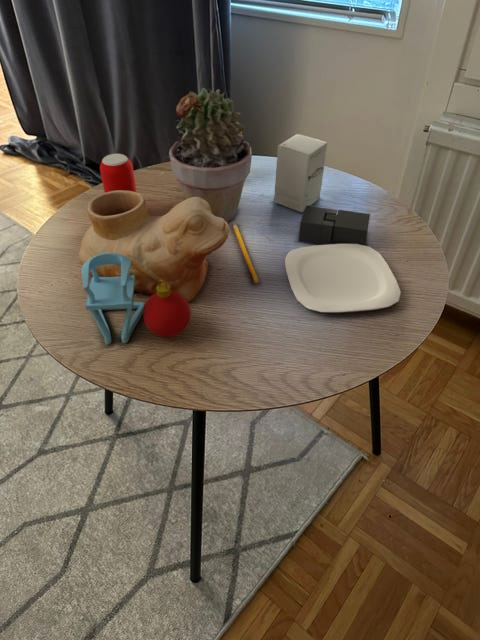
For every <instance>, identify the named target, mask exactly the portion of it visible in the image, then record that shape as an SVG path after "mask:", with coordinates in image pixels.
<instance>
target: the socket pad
mask: <svg viewBox="0 0 480 640" xmlns="http://www.w3.org/2000/svg"><path fill="white" fill-rule="evenodd" d="M337 213H338V209H333V208H326V207H321V206H320V207H319V206H313V205H310V206H306V207H305V210H304V211H303V212H302V216H301V219H300V224H299V225H300V226H299V233H298V242H299V243H304V244H311V245H315V246H316V245H329V244H331V243H332V240H331V238H332V232H333V226H334V222H331V221H325V219H326V215H327V214H334V215H337Z"/></svg>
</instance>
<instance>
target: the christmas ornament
mask: <svg viewBox="0 0 480 640" xmlns="http://www.w3.org/2000/svg"><path fill="white" fill-rule="evenodd" d="M159 281H162V282H163V283H161V284H159ZM159 281H158V285H157V287H156V290H157V292H156V293H154V294H153V295H150V296H149V297H148V298H147V299H146V301H145V302H144V303H145V305H144V309H143V314H142V318H143V319H142V320H143V322H144V324H145V326H146V328H147V329H148V330H149V332H151V333H152V334H154V335H156V336H158V337H161V338H173V337H177V336H178V335H180V334H182V333H183V332H184V331H185V330H186V329H187V327H188V325H189V324H190V321H191V315H192V312H191V306H190V304H189V302H187V300H186V299H185V298H184V297H183V296H182V295H181V294H179V293H177V292H175V291H171V290H170V285H169V284H167V283H166V282H165V281H163V280H159Z"/></svg>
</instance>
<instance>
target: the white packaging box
mask: <svg viewBox="0 0 480 640" xmlns="http://www.w3.org/2000/svg"><path fill="white" fill-rule="evenodd" d="M327 148H328V141H323V140H321V139H318V138H315V137H314V138H313V137H310V136H307V135H304V134H300V133H296V134H294V135H293V136H291V137H290V138H288V139H286V140H284V141H283V142H282V143H280V144H278V145H277V155H276V167H275V168H276V170H275V184H274V196H273V197H274V198H273V202H274V203H276V204H278V205H282V206H283V207H286V208H288V209H291V210H295V211H296V212H299V213H304V210H305V207H306V206H313V204H314V203H315V202H317V201H318V200H320V199H321V192H322V185H323V178H324V171H325V163H326V156H327Z"/></svg>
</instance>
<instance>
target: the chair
mask: <svg viewBox="0 0 480 640" xmlns="http://www.w3.org/2000/svg"><path fill="white" fill-rule="evenodd" d="M106 264H117V265H121V276H120V277H99V275H98V273H97V271H96V269H95V267H97V266H100V265H106ZM130 266H131V259H130V258H128V257H126V256H124V255H120V254H116V253H102V254H99V255H96V256H94V257H92V258H90V259H89V260H88V261H87V262H86V263H84V264H83V266H82V265H81V268H80V269H81V271H80V272H81V278H82V287H83V289H84V291H85V293H86V294H87V298H86V302H85V308H86V311H89V312H90V314H91V315H92V317H93V319H94V321H95V323H96V324H97V327H98V329H99V330H100V332H101V334H102V336H103V340H104V343H105V345H110V344H111V343H112V336H111V331H110V328H109V325H108V323H107V321H106V318H105V315H104V313H103V311H115V310H116V311H117V310H126V312H125V317H124V320H123V321H124V322H123V325H122V329H121V335H120V338H121V342H122V344H127V343H128V342H129V340H130V337H131V336H132V334H133V332H134V330H135V327H136V326H137V325H138V323H139V321H140V320H141V317H143V309H144V305H145V303H146V302H144V301H143V302H142V301H140V302H137V301H136V302H134V296H135V293H134V287H135V275H131V276H130V274H129V271H130ZM90 269H91V272H92V274H93V277H92V276H91V278H90V274H89V273H90ZM134 309H135V310H136V311H135V312H134V314H133V310H134ZM132 314H133V315H132Z"/></svg>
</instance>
